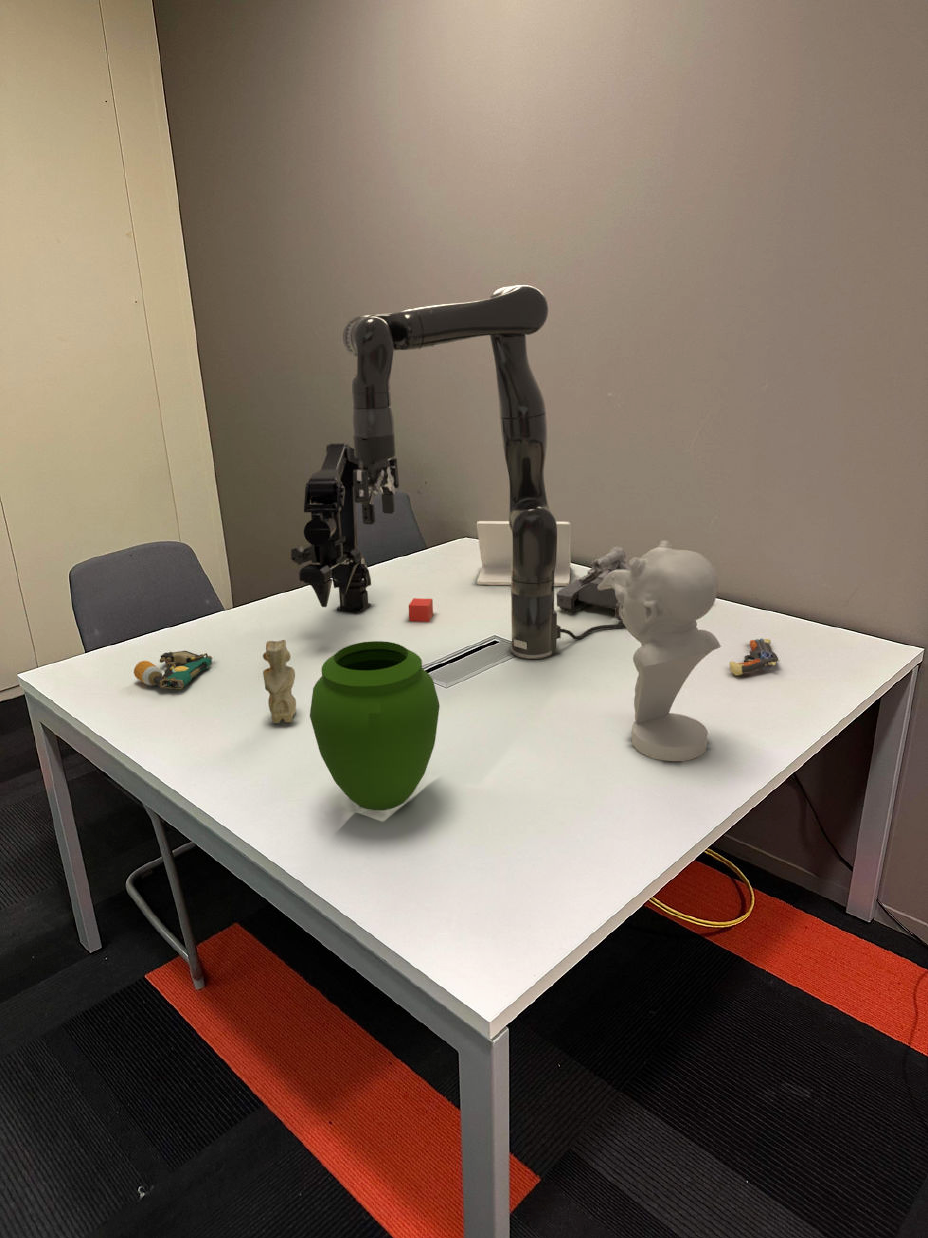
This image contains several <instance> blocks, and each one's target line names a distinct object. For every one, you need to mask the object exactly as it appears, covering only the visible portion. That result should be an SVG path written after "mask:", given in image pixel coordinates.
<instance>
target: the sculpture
mask: <svg viewBox="0 0 928 1238" xmlns="http://www.w3.org/2000/svg"><path fill="white" fill-rule="evenodd" d="M265 649H266V650H265V652H264V653H262V659H263V660H264V661H265V662H267V663H268V664H269V667H268V668H265V669H263V671H262V675H263V676H262V677H263V681H264V689H265V690H266V692H268V693H269V696H268V700H267V701H268V703H267V704H268V709H269V712H270V715H271V719H272V723H273V724H280V723H281V721H282V720H283V721H284V723H291V722H292V721H293V717H294V715H295V713H296V710H297V700H296V698H295V697H294V695H293V694H292V693H293V692H292V689H293V687H294V683H295V678H296V672H295V668H294V667H292V666H289V665H287V663H288V662H290V660H291V659H292V658H291V657H292V656H291V653H290V651H289V650H288V648H287V640H286V639H282V640H276V641H275V640H268V641H267V642H266V644H265Z"/></svg>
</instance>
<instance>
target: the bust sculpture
mask: <svg viewBox="0 0 928 1238" xmlns="http://www.w3.org/2000/svg"><path fill="white" fill-rule="evenodd" d="M628 565H629V569H630V571H628V570H614V571H612V572H610V573H608V574H607V575H606V576H605V578H604V579H603V581H602V582H601V583H600V584H599V585H598V587H597V588H598V590H604V589H609V588H613V589H614V590H615V596H616V598H617V600H618V601H619V602H620V603H621V605H620V608H619V615H620V617H621V619H622V621H621V622H622V624H624V625H625V627H624V628H626V630H627V632H628V633H629V635H631V636H632V637H633V638H635V640H636V641H638V642H639V643H640V645H641V646H640V647H638V649H636V650H635V652H634V653H633V656H632V662H633V664H634V667H635V669H636V671H637V673H638V675H637V678H636V682H635V688H634V698H633V707H634V722H633V723H632V726H631V744H632V746H633V747H634V749H636V750H637V751H638V752H639V753H640V754H642V755H644V756H647V757H650V758H652V759H655V760H661V761H665V762H683V761H689V760H690V761H691V760H694V759H696V758H699V757H700V756H702V755H703V754H704V753H705V752H706V750H707V748H708V747H707V746H708V734H709V733H708V729H707V727H706V726H705V725H704V724H703V723H702V722H700V721H699V720H697V719H696V718H693V717H690V716H687V715H684V714H679V713H673V712H671V710H672V706H673V705H674V702H675V700H676V698H677V696H678V695H679V693H680V691H681V689H682V687H683V685H684V684H685V682H686V681H687V680H688V678H689V676H690V674H691V673H692V672H693V670H694V669H695V668H696V666H697V665H698V664H699V663H700V662H701V661H702V660H703V659H704V658H706V657H707V656H708V655H709V654H711V653H712V652H713V651H714V650H717V649H719V648H721V647H722V645H721V643H720V642H719V640H718V639H717V637H716V636H715V634H713V632H711V631H709V630H706V629H699V628H698V626H697V625H698V623H697V621H698V620H700V619H701V618H703V617H704V616H706V615H707V614H708V613H709V612H710V611H711V609H712V608H713V606H714V604H715V602H716V598H717V595H718V587H719V581H718V575H717V571H716V570H715V567H714V566H713V565H712V562H711V561H709V560H708V559H707V558H706V557H705V556H703V554H700V553H699V552H696V551H693V550H686V549H684V550H683V549H676V548H675V549H674V548H673V547H672V545H671V543H670V541H668V540H661V541H660V542H659V545H658V546H657V547H654V548H652V549H650V550H649V551H647V552H646V553H644V554H643V555H642V556H641V557H632V558H630V559H629V562H628Z"/></svg>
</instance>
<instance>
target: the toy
mask: <svg viewBox="0 0 928 1238" xmlns="http://www.w3.org/2000/svg"><path fill="white" fill-rule="evenodd" d="M626 557H627V556H626V551H625V549H624V548H622V547H621V546H614V547H612V548H611V549H610V550H609V552H608V553H607V554H605V555H604V556H601V557H599V558H598V559H597V557H596V558H594V559H593V560H592V561H590V562H589V563H590V564H591V565H592V567H591V568H590V569H589V570H587V573H586V575H584V576H582V577H580V578H578V579H577V580H575V581H573V582H570V583H569V585H567V586H563V587H562V588H560V589H559V590H558V591H557V592H556V607H558V608H559V609H560V610H562V611H566V612H572V613H575V612H577V611H579V610H581V609H582V608H585V607H586V606H588V605H592V606H598V607H602V608H603V607H604V608H609V609H613V610H614V618H615V619H617V620H618V621H621V622H623V621H622V619H621V617H620V615H619V608H620V605H621V603H620V602H619V601H618V600H617V598H616V596H615V590H614V589H613V588H609V589H604V590H598V588H597V587H598V585H599V584H600V583H601V582H602V581H603V579H604V578H605V576H606V575H607V574H608V573H610V572H612V571H614V570H628V571H630V569H629V563H627V562H626V561H625V559H626Z"/></svg>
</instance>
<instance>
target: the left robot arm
mask: <svg viewBox="0 0 928 1238" xmlns="http://www.w3.org/2000/svg"><path fill="white" fill-rule="evenodd" d="M325 450H326V451H325V456H324V459H323V461H322V464H321V466H320V469H319V471H315V472H314V473H312V474H311V475H310V477H309V479H308V482H306V483H305V488H304V501H303V502H304V503H303V513H310V515H311V516H310V519H309V520H308V521H307V522H306V523H305V526H304V529H303V536H304V538H305V540H306V541H307V542H308V545H305V546H303V547H302V546H300V545H298V546H297V547H293V548H291V549H290V560H291V561H292V562H293V563H295V564H297V566H301V565H302V564H305V563H307V562H310V561H311V563H309V564H307V565H305V566H303V567H301V569H300V570H299V571H298V580H299V581H300V582H303V583H304V584H307V585H309V586H310V587H311V588H312V589H313V591H314V593H315V595H316V597H317V600H318V602H319V604H320V606H321V607H322V608H327V607H328V604H329V603H328V602H329V599H330V593H331V588H332V586H333V588H334V589H337V588H338V596H339V597H338V598H339V606H338V607H336V611H338V612H339V611H340V612H347V613H354V614H359V613H361V612H363V611H364V610H366V609H367V608H369V607H370V606H372V605H371V603H370V602H369V591H368V590H367V588H368V587H370V586H372V578H371V577H372V576H371V574H370V569H369V568H368V566H367V564H366V563H365V556H364V555H363V553H362V552H361V550H360V548H359V547H358V526H357V525H358V524H357V523H358V522H357V521H358V520H357V503H355V501H354V483H353V471H354V470H361V469H362V461H361V460H358V459H356V458H355V455H354V447H351V446H350V444H348V443H346V442H337V443H333V442H332V443H331V442H330V443H329V444H327V445H326V449H325ZM332 584H333V585H332Z"/></svg>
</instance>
